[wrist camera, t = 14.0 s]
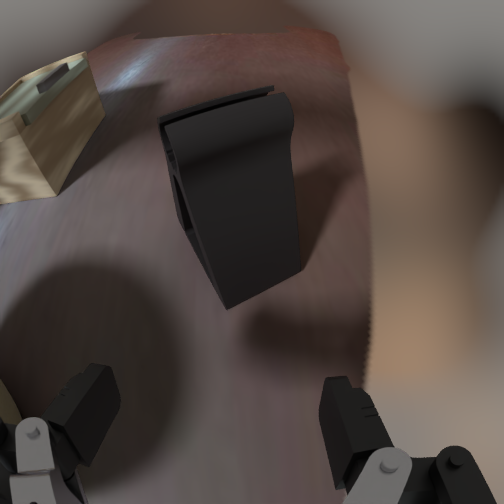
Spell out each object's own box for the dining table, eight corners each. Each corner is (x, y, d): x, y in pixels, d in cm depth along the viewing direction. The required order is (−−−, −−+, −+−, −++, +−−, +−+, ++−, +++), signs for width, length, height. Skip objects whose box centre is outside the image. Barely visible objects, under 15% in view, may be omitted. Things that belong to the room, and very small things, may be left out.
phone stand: (178, 219, 23) (141, 89, 13) (242, 192, 25) (238, 63, 14) (226, 311, 19) (197, 182, 9) (300, 273, 21) (340, 134, 10)
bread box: (-6, 205, 25) (-48, 144, 15) (43, 130, 34) (19, 75, 24) (60, 195, 25) (13, 112, 15) (109, 114, 33) (88, 46, 24)
